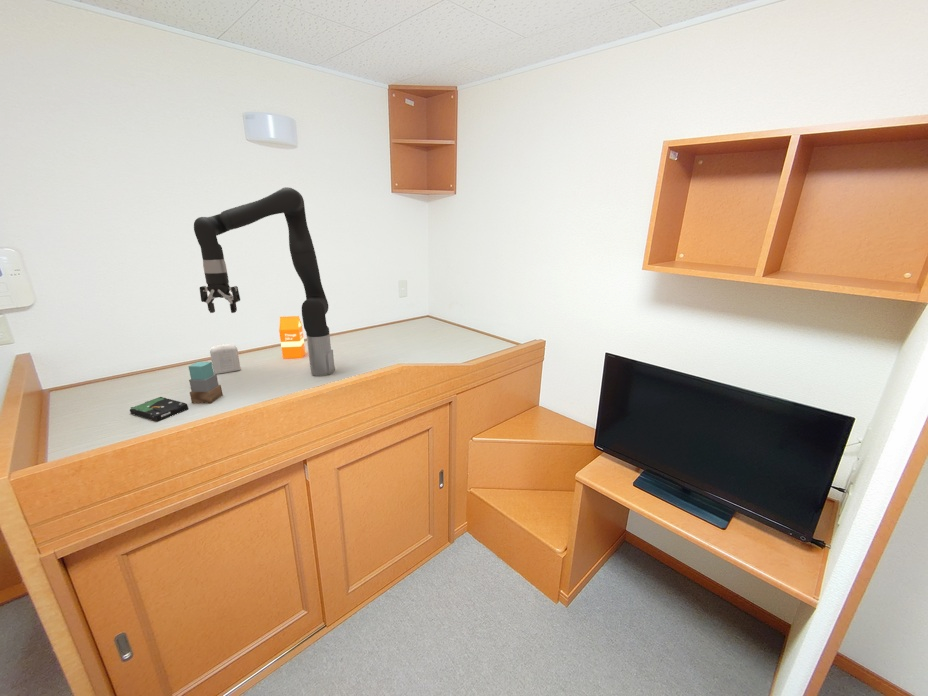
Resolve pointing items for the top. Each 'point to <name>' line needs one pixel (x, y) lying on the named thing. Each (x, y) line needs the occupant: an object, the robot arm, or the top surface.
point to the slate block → (204, 384)
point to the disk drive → (158, 409)
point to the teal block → (201, 370)
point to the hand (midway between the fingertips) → (223, 312)
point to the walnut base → (206, 395)
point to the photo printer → (225, 358)
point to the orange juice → (291, 337)
